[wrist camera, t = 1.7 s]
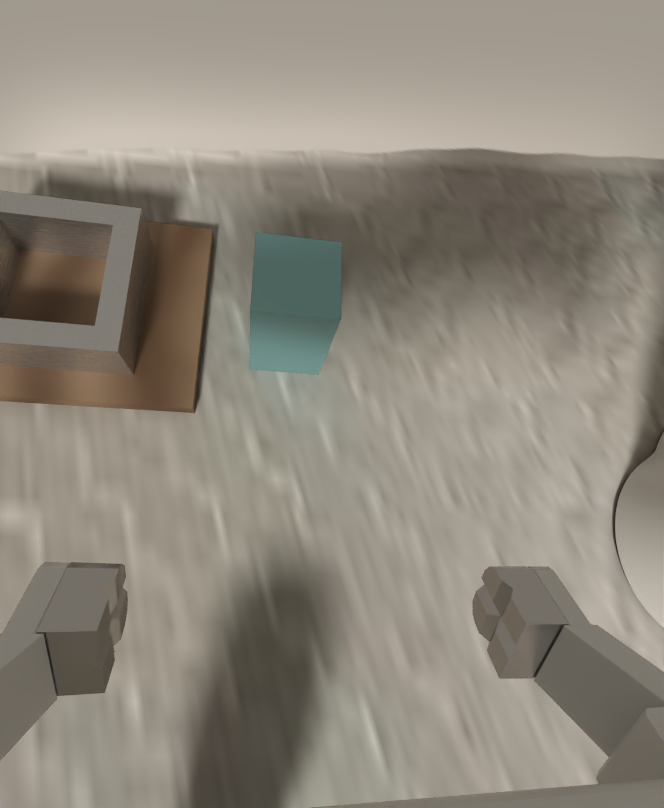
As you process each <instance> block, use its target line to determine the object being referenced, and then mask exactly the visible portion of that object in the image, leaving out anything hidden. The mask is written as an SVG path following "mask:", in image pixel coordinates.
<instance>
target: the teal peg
mask: <svg viewBox="0 0 664 808" xmlns="http://www.w3.org/2000/svg"><path fill="white" fill-rule="evenodd" d="M341 279H342V242H334V241H325V240H317V239H309V238H301V237H292V236H284V235H276V234H268V233H260V232H256V241H255V254H254V267H253V280H252V293H251V306H250V369H251V370H264V371H277V372H290V373H303V374H316V375H318V374H319V372H320V369H321V367H322V364H323V362H324V360H325V357H326V355H327V352H328V350H329V347H330V345H331V342H332V340H333V337H334V335H335V333H336V330H337V328H338V325H339V323H340V320H341Z"/></svg>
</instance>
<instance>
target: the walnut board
mask: <svg viewBox="0 0 664 808" xmlns="http://www.w3.org/2000/svg"><path fill="white" fill-rule="evenodd" d="M145 222H146V225H147V228H148V231H149V234H150V237H151V240H152V244H153V250H152V257H151V263H150V270H149V277H148V283H147V290H146V297H145V303H144V310H143V317H142V323H141V330H140V336H139V343H138V350H137V356H136V363H135V370H134V375H125V374H111V373H97V372H83V371H69V370H56V369H42V368H28V367H14V366H0V401H11V402H27V403H43V404H60V405H76V406H92V407H109V408H125V409H141V410H157V411H174V412H190V413H195V405H196V396H197V387H198V378H199V368H200V359H201V350H202V340H203V331H204V322H205V313H206V303H207V294H208V285H209V275H210V266H211V257H212V248H213V231H212V229H207V228H199V227H191V226H182V225H174V224H166V223H158V222H149V221H145ZM106 261H107V259H102V258H93V257H84V256H75V255H65V254H56V253H47V252H37V251H28V250H21V253H20V257H19V261H18V265H17V269H16V273H15V277H14V281H13V285H12V290H11V294H10V298H9V302H8V306H7V310H6V314H5V318H9V319H21V320H32V321H44V322H55V323H67V324H79V325H90V326H95V321H96V316H97V310H98V305H99V299H100V294H101V288H102V283H103V277H104V272H105V267H106Z"/></svg>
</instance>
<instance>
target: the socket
mask: <svg viewBox="0 0 664 808" xmlns="http://www.w3.org/2000/svg"><path fill="white" fill-rule="evenodd" d="M21 250H28V251H37V252H47V253H56V254H65V255H75V256H84V257H93V258H102V259H107V261H106V267H105V272H104V277H103V283H102V288H101V294H100V299H99V305H98V310H97V316H96V321H95V326H90V325H79V324H67V323H55V322H44V321H32V320H21V319H9V318H5V314H6V310H7V306H8V302H9V298H10V294H11V290H12V285H13V281H14V277H15V273H16V269H17V265H18V261H19V257H20V253H21ZM152 250H153V244H152V240H151V237H150V234H149V231H148V228H147V225H146V222H145V218H144V215H143V212H142V209H141V208H135V207H127V206H119V205H111V204H103V203H95V202H87V201H79V200H71V199H63V198H55V197H47V196H39V195H31V194H22V193H14V192H6V191H0V366H14V367H28V368H42V369H56V370H69V371H83V372H97V373H111V374H125V375H134V370H135V363H136V356H137V350H138V343H139V336H140V330H141V323H142V317H143V310H144V303H145V297H146V290H147V283H148V277H149V270H150V263H151V257H152Z"/></svg>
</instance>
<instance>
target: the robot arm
mask: <svg viewBox="0 0 664 808" xmlns="http://www.w3.org/2000/svg"><path fill="white" fill-rule="evenodd" d="M615 534H616V543H617V549H618V553H619V557H620V561H621V564H622V567H623V570H624V573H625V575H626V577H627V580H628V582H629V584H630V586H631V588H632V589H633V591H634V593H635V595H636V596H637V598H638V599H639V601H640V602H641V604H642V605H643V606H644V608H645V609H646V610H647V611H648V613H649V614H650V615H651V616H652V617H653V618H654V619H655V620H656V621H657V622H658V623H659V624H660V625H661V626H662V627H663V628H664V432H663V434H662V436H661V438H660V440H659V443H658V445H657V448H656V450H655V452H654V453H653V454H652V455H651V456H650V457H649V458H647V459H646V460H645V461H644V462H642V463H641V464H640V465H639V466H638V467H637V468H636V469H635V470H634V471H633V472H632V473H631V474H630V476H629V477H628V479H627V480H626V482H625V484H624V486H623V488H622V491H621V493H620V496H619V499H618V503H617V508H616V517H615ZM125 578H126V572H125V565H123V564H105V563H75V562H72V563H62V562H44V563H43V564H42V565H41V566H40V567H39V568H38V569H37V571H36V573H35V575H34V577H33V579H32V580H31V582H30V584H29V586H28V588H27V589H26V591H25V593H24V595H23V597H22V599H21V600H20V602H19V604H18V606H17V608H16V610H15V611H14V613H13V615H12V617H11V619H10V620H9V622H8V624H7V626H6V628H5V630H4V631H3V633H2V634H0V760H1V759H2V758H3V757H4V756H5V755H6V754H7V753H8V752H9V751H10V750H11V748H12V747H13V746H14V745H15V744H16V743H17V742H18V741H19V740H20V739H21V738H22V736H23V735H24V734H25V733H26V732H27V731H28V730H29V729H30V728H31V727H32V726H33V725H34V723H35V722H36V721H37V720H38V719H39V718H40V717H41V716H42V715H43V714H44V713H45V711H46V710H47V709H48V708H49V707H50V706H51V705H52V704H53V703H54V702H55V701H56V700H57V696H65V695H80V694H96V693H105V690H106V687H107V684H108V681H109V677H110V674H111V671H112V667H113V664H114V661H115V658H114V647H113V646H114V645H115V644H116V643H117V642H118V641H120V640H121V637H122V634H123V630H124V626H125V621H126V615H127V606H128V596H127V591H126V590H125V589H124V588H123V584H124V581H125ZM482 580H483V582H484V584H485V585H484V586H482V587H481V588H480V589H478V590H477V591H476V593H475V596H474V599H473V617H474V621H475V624H476V626H477V629H478V631H479V633H480V634H481V635H482V636H483V637H485V638H486V639H487V640H488V641H489V645H488V649H487V652H488V654H489V656H490V658H491V661H492V663H493V665H494V667H495V670H496V672H497V674H498V676H499V678H535V679H534V681H535V682H536V683H537V684H538V685H539V686H540V687H541V688H542V689H543V690H544V691H545V692H546V693H547V694H548V695H549V696H550V697H551V698H552V699H553V700H554V701H555V702H556V703H557V704H558V705H559V706H560V707H561V708H562V709H563V711H564V712H565V713H566V714H567V715H568V716H569V717H570V718H571V719H572V720H573V721H574V722H575V723H576V724H577V725H578V726H579V727H580V728H581V729H582V730H583V731H584V732H585V733H586V734H587V735H588V736H589V737H590V738H591V739H592V740H593V741H594V742H595V743H596V744H597V745H598V746H599V747H600V748H601V749H602V750H603V751H604V752H605V753H606V754H607V756H608V757H609V758H608V759H607V761H606V762H605V763H604V765H603V766H602V767H601V768H600V770H599V771H598V774H597V777H596V779H597V781H598V783H599V784H594V785H581V786H569V787H557V788H545V789H532V790H520V791H508V792H496V793H483V794H471V795H459V796H447V797H434V798H422V799H410V800H398V801H385V802H373V803H361V804H349V805H337V806H325V807H312V808H664V672H663V671H662V670H660V669H659V668H657V667H656V666H654V665H653V664H652V663H650V662H649V661H647V660H646V659H645V658H643V657H642V656H640V655H639V654H637V653H636V652H635V651H633V650H632V649H630V648H629V647H627V646H626V645H625V644H623V643H622V642H620V641H619V640H618V639H616V638H615V637H613V636H612V635H610V634H609V633H608V632H606V631H605V630H603V629H602V628H601V627H599V626H598V625H591V624H590V623H589V621H588V620H587V618H586V617H585V615H584V614H583V612H582V611H581V610H580V608H579V607H578V605H577V604H576V602H575V601H574V599H573V598H572V597H571V595H570V594H569V592H568V591H567V589H566V588H565V586H564V585H563V583H562V582H561V581H560V579H559V578H558V576H557V575H556V573H555V572H554V571H553V570H552V569H551V568H549V567H525V566H504V567H488V568H487V569H486V570H485V571H484V573H483V576H482Z"/></svg>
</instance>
